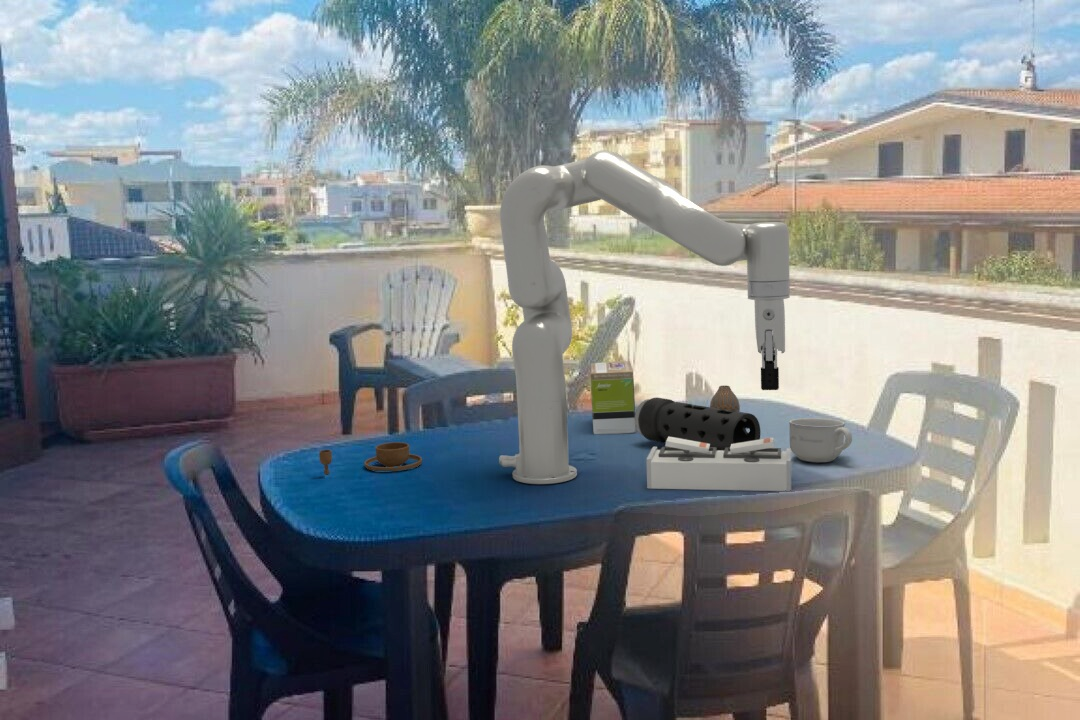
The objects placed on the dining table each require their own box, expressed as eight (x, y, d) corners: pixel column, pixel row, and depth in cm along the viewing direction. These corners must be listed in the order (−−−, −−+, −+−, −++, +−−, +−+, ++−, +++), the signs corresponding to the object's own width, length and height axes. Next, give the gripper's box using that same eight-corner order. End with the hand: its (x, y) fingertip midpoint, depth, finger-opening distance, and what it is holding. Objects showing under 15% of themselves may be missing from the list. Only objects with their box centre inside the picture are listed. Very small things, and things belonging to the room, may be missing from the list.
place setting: (417, 478, 217) (416, 449, 216) (318, 482, 217) (316, 453, 216) (425, 457, 234) (424, 431, 233) (333, 461, 234) (331, 434, 233)
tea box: (591, 421, 262) (589, 361, 260) (633, 420, 262) (631, 360, 260) (592, 435, 247) (590, 371, 245) (636, 433, 247) (634, 370, 245)
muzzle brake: (731, 467, 214) (730, 415, 212) (632, 446, 235) (630, 399, 234) (762, 458, 220) (761, 408, 218) (662, 438, 241) (661, 393, 240)
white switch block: (647, 488, 200) (646, 459, 199) (653, 474, 209) (652, 446, 209) (791, 491, 194) (790, 460, 193) (791, 477, 204) (790, 448, 203)
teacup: (778, 457, 219) (778, 418, 218) (823, 451, 223) (822, 413, 222) (820, 472, 206) (820, 431, 205) (866, 465, 210) (866, 424, 209)
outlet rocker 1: (664, 449, 203) (666, 440, 203) (667, 444, 207) (668, 435, 207) (707, 457, 202) (708, 448, 201) (708, 452, 205) (710, 443, 205)
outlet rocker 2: (731, 457, 200) (729, 448, 200) (732, 452, 204) (730, 443, 204) (775, 450, 199) (773, 441, 198) (775, 446, 202) (773, 436, 202)
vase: (740, 420, 257) (740, 383, 256) (739, 426, 250) (738, 388, 249) (711, 419, 259) (710, 383, 257) (709, 425, 252) (708, 388, 251)
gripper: (790, 293, 189) (791, 396, 191) (789, 286, 203) (790, 382, 206) (746, 294, 190) (748, 396, 193) (748, 287, 205) (750, 382, 208)
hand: (770, 389), depth 199 cm, fingers closed
